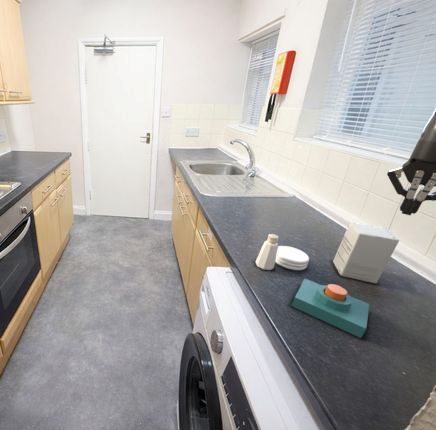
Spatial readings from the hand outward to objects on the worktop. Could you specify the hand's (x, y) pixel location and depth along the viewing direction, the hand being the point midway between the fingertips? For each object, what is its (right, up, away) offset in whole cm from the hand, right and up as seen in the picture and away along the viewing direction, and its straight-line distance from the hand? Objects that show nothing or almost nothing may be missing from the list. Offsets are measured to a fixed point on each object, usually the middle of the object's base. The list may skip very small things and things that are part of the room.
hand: (405, 213), depth 63 cm
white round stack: (-12, -16, +24) cm, 32 cm away
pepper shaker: (-21, -17, +22) cm, 35 cm away
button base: (-15, -25, +5) cm, 29 cm away
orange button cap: (-15, -21, +3) cm, 25 cm away
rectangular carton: (+6, -19, +20) cm, 28 cm away
